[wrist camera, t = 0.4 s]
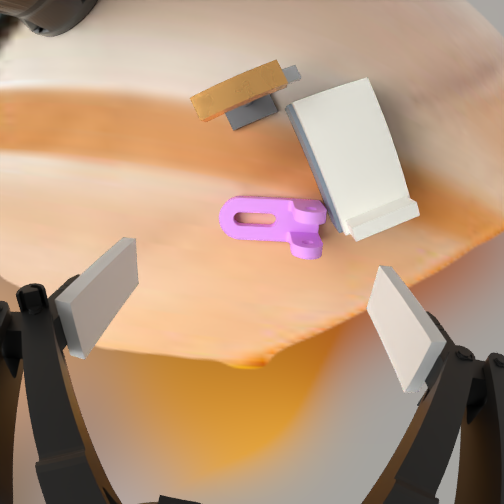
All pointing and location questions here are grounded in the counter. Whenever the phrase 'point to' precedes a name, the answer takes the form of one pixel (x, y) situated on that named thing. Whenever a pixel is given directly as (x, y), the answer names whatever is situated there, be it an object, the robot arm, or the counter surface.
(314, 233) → the bracket
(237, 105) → the key
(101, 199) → the counter surface
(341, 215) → the cover
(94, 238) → the counter surface
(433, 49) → the counter surface
